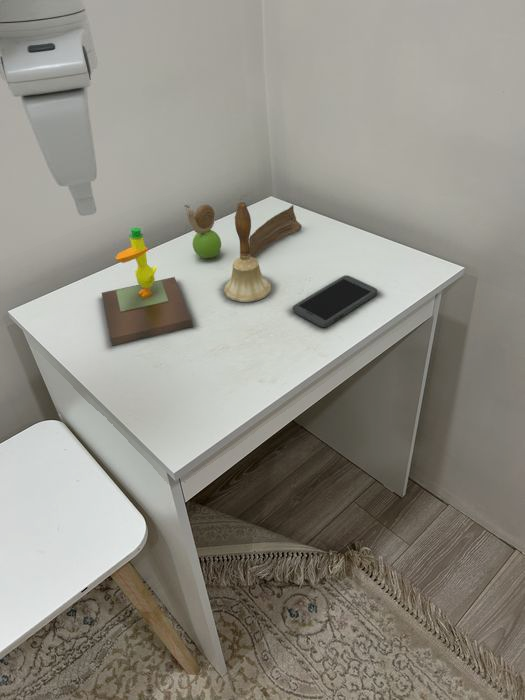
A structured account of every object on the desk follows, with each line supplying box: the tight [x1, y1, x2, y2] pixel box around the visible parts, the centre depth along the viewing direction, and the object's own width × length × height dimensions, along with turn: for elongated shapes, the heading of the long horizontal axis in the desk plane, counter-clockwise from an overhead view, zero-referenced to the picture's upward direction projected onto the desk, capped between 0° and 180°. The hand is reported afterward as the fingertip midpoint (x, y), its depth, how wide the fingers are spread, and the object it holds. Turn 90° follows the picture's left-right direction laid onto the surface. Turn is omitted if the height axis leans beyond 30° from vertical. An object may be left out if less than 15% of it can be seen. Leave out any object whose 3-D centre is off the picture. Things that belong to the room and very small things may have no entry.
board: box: [101, 276, 194, 346], centre depth 91 cm, size 13×14×2 cm
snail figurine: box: [184, 203, 222, 259], centre depth 102 cm, size 5×6×12 cm
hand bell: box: [223, 201, 272, 303], centre depth 91 cm, size 8×8×16 cm
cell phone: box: [292, 275, 379, 328], centre depth 91 cm, size 7×14×1 cm, turn 132°
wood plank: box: [249, 204, 302, 258], centre depth 107 cm, size 15×2×5 cm, turn 143°
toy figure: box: [115, 227, 158, 298], centre depth 90 cm, size 7×4×12 cm, turn 130°
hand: (84, 194), depth 59 cm, fingers open, 8 cm apart
